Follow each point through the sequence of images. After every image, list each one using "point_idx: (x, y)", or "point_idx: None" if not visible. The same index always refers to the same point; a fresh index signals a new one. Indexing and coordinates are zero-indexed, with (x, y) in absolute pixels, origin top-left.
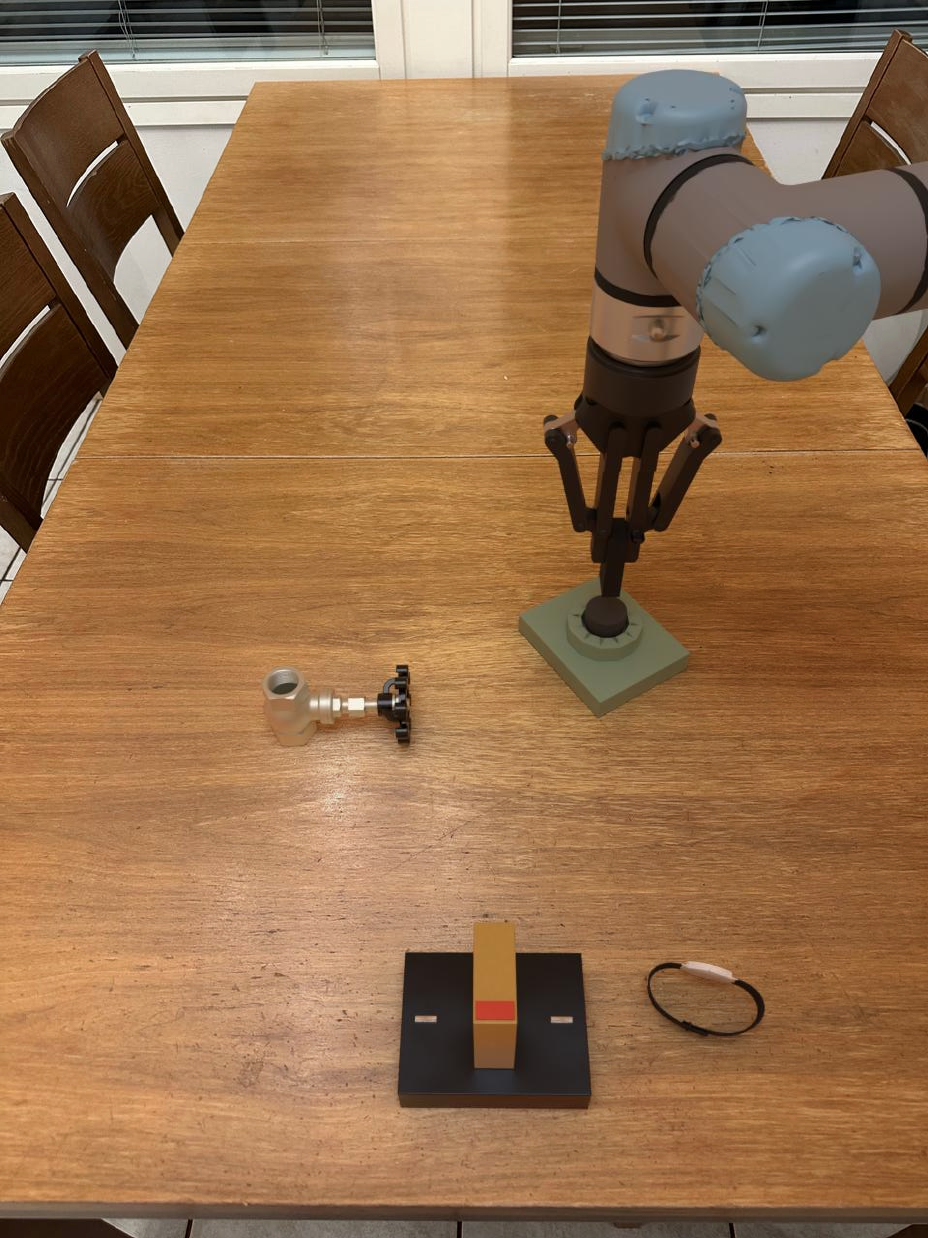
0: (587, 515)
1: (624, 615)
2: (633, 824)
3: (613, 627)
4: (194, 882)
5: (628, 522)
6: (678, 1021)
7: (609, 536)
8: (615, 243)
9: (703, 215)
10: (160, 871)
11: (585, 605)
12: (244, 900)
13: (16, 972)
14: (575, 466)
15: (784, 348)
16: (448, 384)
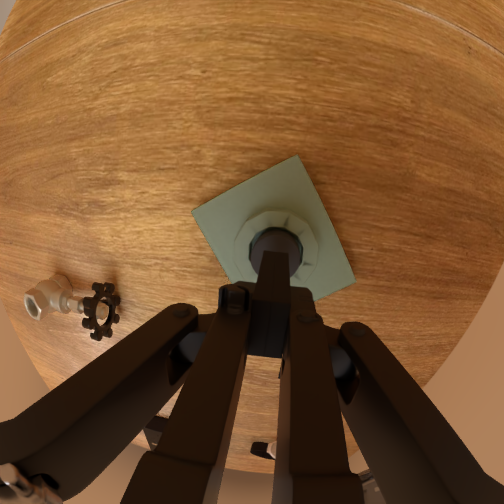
0: (193, 354)
1: (294, 270)
2: (266, 386)
3: None
4: (60, 355)
5: (285, 352)
6: (261, 456)
7: (248, 346)
8: None
9: None
10: (48, 346)
11: (257, 229)
12: (79, 369)
13: (34, 364)
14: (96, 475)
15: None
16: None
